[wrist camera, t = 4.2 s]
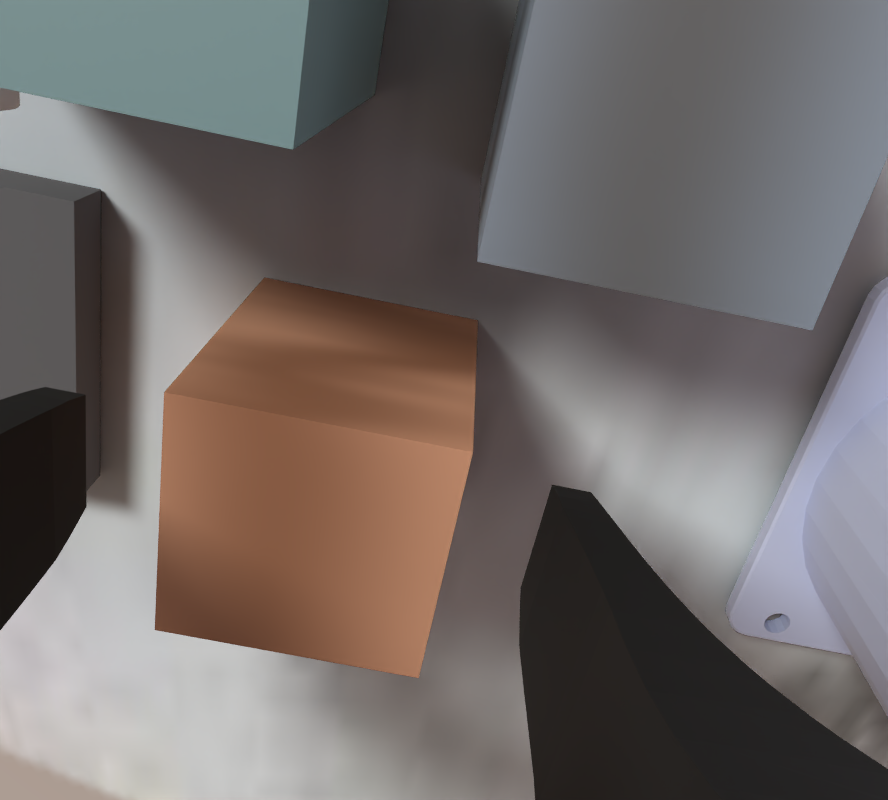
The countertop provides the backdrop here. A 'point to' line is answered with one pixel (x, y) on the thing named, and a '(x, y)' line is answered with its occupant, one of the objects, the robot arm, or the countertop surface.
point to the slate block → (688, 148)
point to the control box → (198, 60)
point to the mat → (51, 293)
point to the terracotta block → (316, 477)
